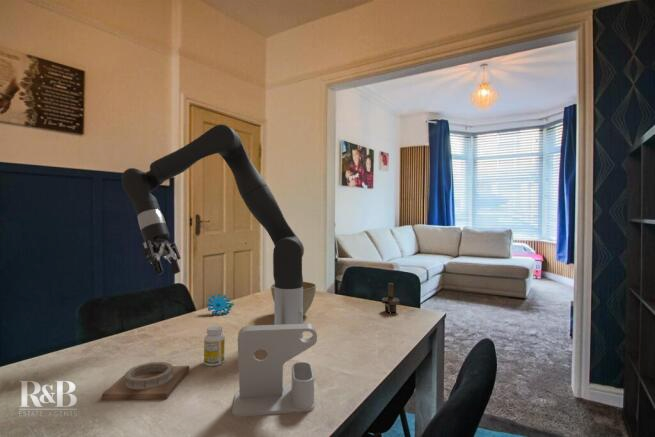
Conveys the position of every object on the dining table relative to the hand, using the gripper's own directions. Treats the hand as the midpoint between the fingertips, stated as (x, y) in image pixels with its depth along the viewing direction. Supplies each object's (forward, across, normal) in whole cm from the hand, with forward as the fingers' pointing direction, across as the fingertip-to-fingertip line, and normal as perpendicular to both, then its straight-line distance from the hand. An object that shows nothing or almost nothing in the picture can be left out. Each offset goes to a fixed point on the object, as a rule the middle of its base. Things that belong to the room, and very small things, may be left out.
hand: (169, 273), depth 110 cm
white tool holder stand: (+42, -23, -29) cm, 56 cm away
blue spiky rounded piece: (+16, +37, +8) cm, 41 cm away
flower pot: (+28, +40, -20) cm, 53 cm away
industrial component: (+43, +52, -55) cm, 87 cm away
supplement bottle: (+30, -8, -9) cm, 32 cm away
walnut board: (+28, -22, 0) cm, 35 cm away
